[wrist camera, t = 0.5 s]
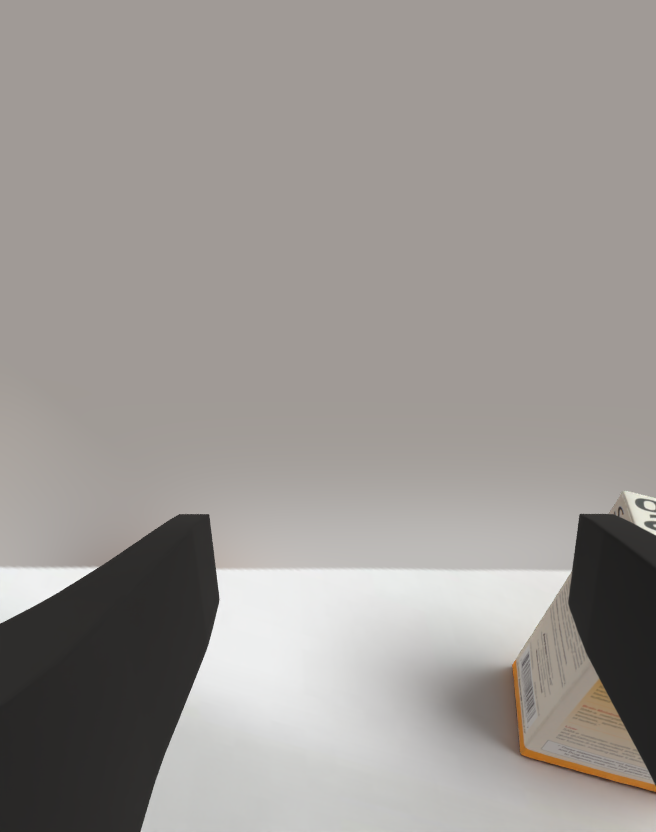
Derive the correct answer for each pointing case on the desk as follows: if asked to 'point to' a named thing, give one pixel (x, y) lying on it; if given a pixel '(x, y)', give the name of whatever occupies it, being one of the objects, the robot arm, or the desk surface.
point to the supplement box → (576, 689)
